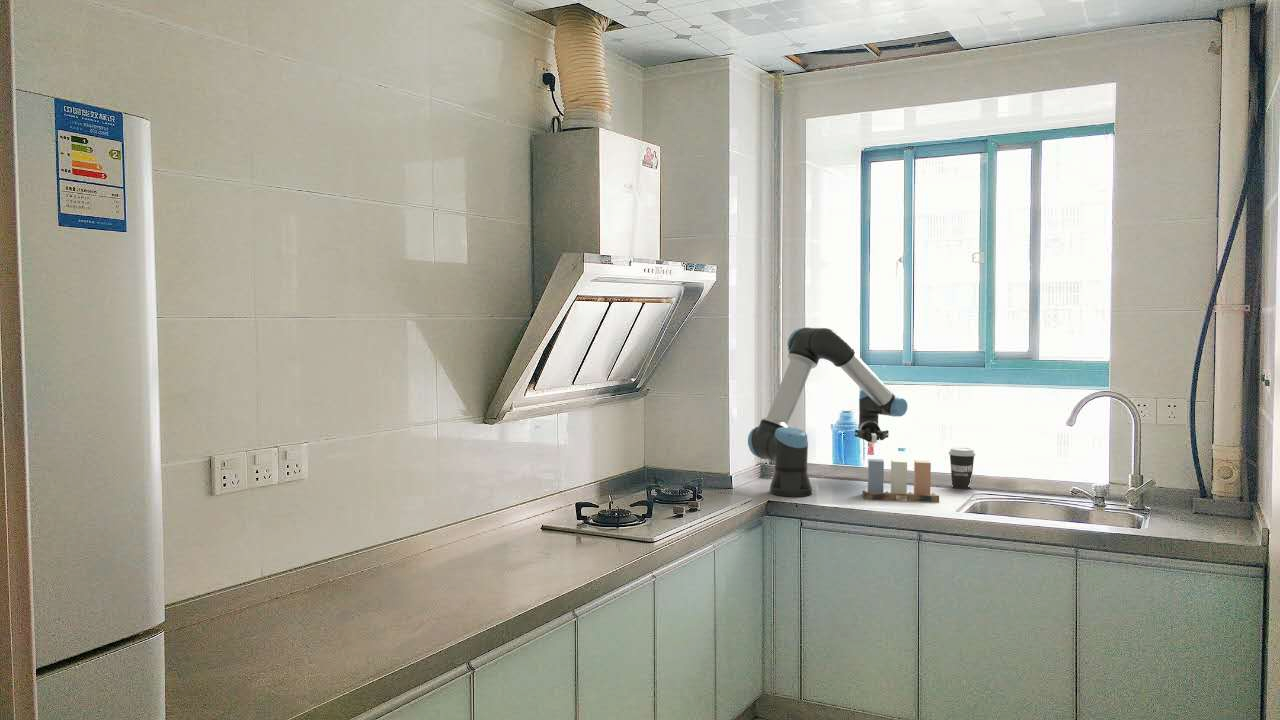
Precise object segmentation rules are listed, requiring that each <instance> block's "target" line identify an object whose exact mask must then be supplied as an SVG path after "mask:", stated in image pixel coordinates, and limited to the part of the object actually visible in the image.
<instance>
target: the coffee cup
mask: <svg viewBox="0 0 1280 720" xmlns="http://www.w3.org/2000/svg"><path fill="white" fill-rule="evenodd" d="M948 455H949V458H950V460H949V461H950V473H951V486H952V485H953V487H952V488H957V489H968V488H967V487H968V485H969V483H970V478H971V475H972V476H973V469H974V463H975V462H974V461H975V456H976V452H975V451H974V448H969V447H958V446H957V447H951V448H950V450H949V452H948Z"/></svg>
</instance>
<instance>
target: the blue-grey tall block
mask: <svg viewBox="0 0 1280 720" xmlns="http://www.w3.org/2000/svg"><path fill="white" fill-rule="evenodd" d="M867 463H868V464H867V466H868V467H867V475H868V476H867V491H868V493H883V492H884V475H885V473H884V471H885V469H884V467H885V464H884V463H885V461H884V460H883V459H878V458H868V462H867Z"/></svg>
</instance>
